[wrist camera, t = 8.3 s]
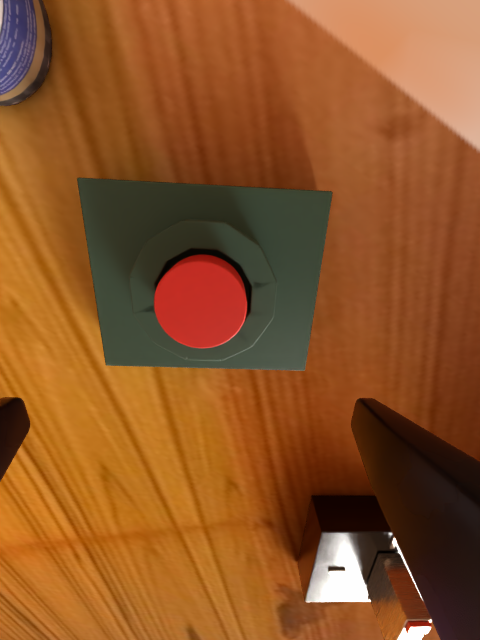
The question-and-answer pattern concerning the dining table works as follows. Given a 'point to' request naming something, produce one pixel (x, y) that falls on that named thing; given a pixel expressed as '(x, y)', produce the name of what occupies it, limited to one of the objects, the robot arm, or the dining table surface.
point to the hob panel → (342, 547)
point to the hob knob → (397, 600)
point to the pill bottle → (23, 49)
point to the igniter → (211, 239)
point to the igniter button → (201, 301)
